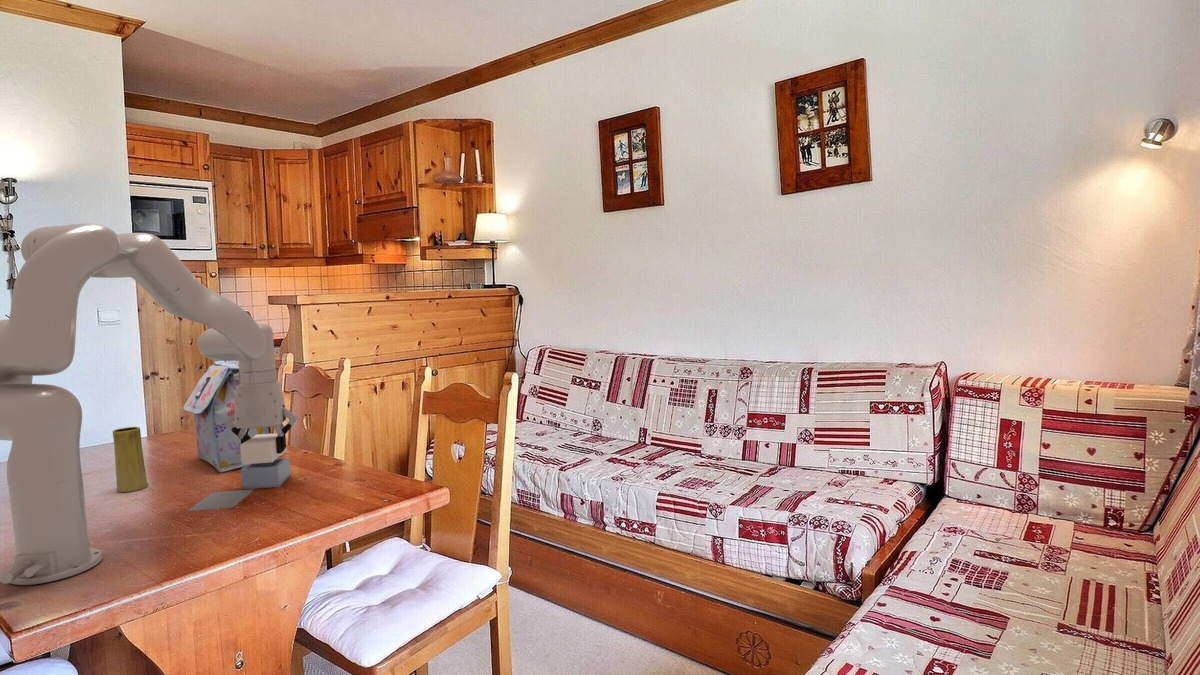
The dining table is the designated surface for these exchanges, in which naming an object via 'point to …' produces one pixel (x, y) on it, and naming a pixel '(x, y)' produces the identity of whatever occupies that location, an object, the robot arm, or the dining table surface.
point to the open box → (265, 474)
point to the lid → (260, 449)
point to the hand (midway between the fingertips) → (264, 452)
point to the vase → (129, 460)
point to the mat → (221, 500)
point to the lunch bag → (217, 417)
